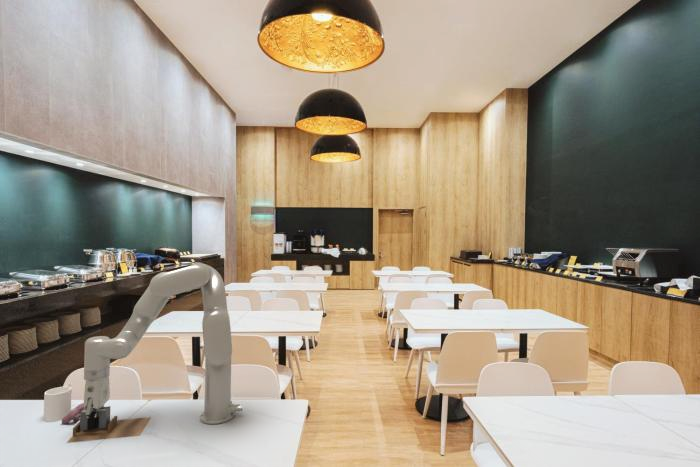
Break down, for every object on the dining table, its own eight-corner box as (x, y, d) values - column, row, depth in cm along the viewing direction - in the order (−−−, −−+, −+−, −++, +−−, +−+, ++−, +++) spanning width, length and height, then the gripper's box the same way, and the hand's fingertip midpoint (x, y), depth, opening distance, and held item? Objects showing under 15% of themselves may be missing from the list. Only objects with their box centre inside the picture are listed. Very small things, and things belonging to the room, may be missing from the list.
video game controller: (68, 429, 138) (76, 413, 138) (59, 423, 139) (66, 406, 139) (91, 417, 148) (98, 401, 147) (82, 411, 149) (89, 395, 148)
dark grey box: (109, 423, 135) (110, 405, 135) (105, 428, 132) (106, 409, 132) (84, 425, 133) (85, 407, 133) (79, 430, 130) (80, 411, 130)
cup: (81, 407, 153) (82, 382, 153) (61, 421, 141) (62, 394, 141) (59, 408, 152) (60, 383, 152) (38, 422, 140) (38, 395, 140)
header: (151, 419, 143) (151, 408, 143) (139, 438, 129) (140, 426, 129) (85, 425, 138) (85, 414, 138) (65, 445, 124) (66, 433, 124)
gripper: (99, 380, 126) (97, 436, 125) (117, 364, 142) (116, 414, 141) (73, 382, 124) (71, 439, 124) (94, 366, 140) (93, 416, 140)
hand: (95, 425), depth 133 cm, fingers closed on dark grey box, 3 cm apart
